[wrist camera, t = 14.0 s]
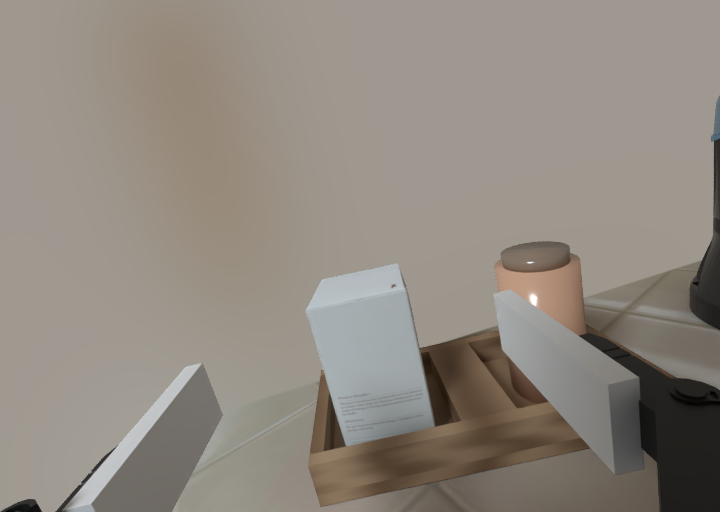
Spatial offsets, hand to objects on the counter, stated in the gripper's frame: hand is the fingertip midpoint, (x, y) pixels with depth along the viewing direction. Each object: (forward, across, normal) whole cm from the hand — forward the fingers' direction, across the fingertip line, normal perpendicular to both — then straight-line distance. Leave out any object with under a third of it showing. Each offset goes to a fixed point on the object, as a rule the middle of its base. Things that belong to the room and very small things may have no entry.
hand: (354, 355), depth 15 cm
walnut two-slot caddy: (+12, +7, -14) cm, 20 cm away
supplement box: (+12, 0, -13) cm, 18 cm away
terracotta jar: (+12, +14, -13) cm, 23 cm away
